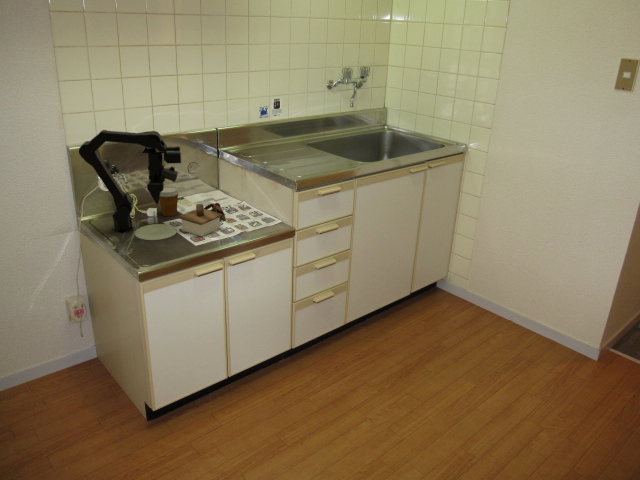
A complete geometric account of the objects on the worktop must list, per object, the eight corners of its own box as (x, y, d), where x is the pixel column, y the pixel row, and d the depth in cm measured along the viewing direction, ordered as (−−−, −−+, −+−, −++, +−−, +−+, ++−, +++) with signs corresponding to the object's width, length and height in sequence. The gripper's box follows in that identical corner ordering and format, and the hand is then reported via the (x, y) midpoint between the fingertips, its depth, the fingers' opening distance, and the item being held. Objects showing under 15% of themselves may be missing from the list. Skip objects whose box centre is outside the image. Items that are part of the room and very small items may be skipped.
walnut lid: (200, 225, 220) (200, 212, 218) (177, 218, 226) (176, 206, 224) (222, 215, 230) (222, 204, 228) (199, 209, 236) (199, 197, 234)
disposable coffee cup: (161, 219, 240) (159, 193, 235) (156, 212, 248) (154, 187, 243) (182, 216, 244) (181, 191, 239) (177, 209, 252) (175, 185, 247)
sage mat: (154, 244, 216) (154, 243, 216) (125, 234, 224) (125, 233, 224) (185, 231, 229) (185, 229, 229) (157, 222, 237) (157, 221, 237)
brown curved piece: (225, 224, 239) (215, 210, 234) (207, 231, 241) (196, 217, 237) (230, 208, 248) (220, 195, 243) (212, 215, 251) (202, 202, 246)
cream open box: (201, 237, 223) (200, 223, 221) (182, 231, 229) (181, 217, 226) (219, 229, 232) (219, 216, 230) (200, 223, 237) (200, 210, 235)
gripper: (175, 169, 213) (177, 207, 219) (176, 157, 230) (178, 192, 236) (145, 169, 211) (148, 207, 217) (148, 157, 227) (151, 192, 234)
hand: (157, 199), depth 226 cm, fingers open, 9 cm apart
